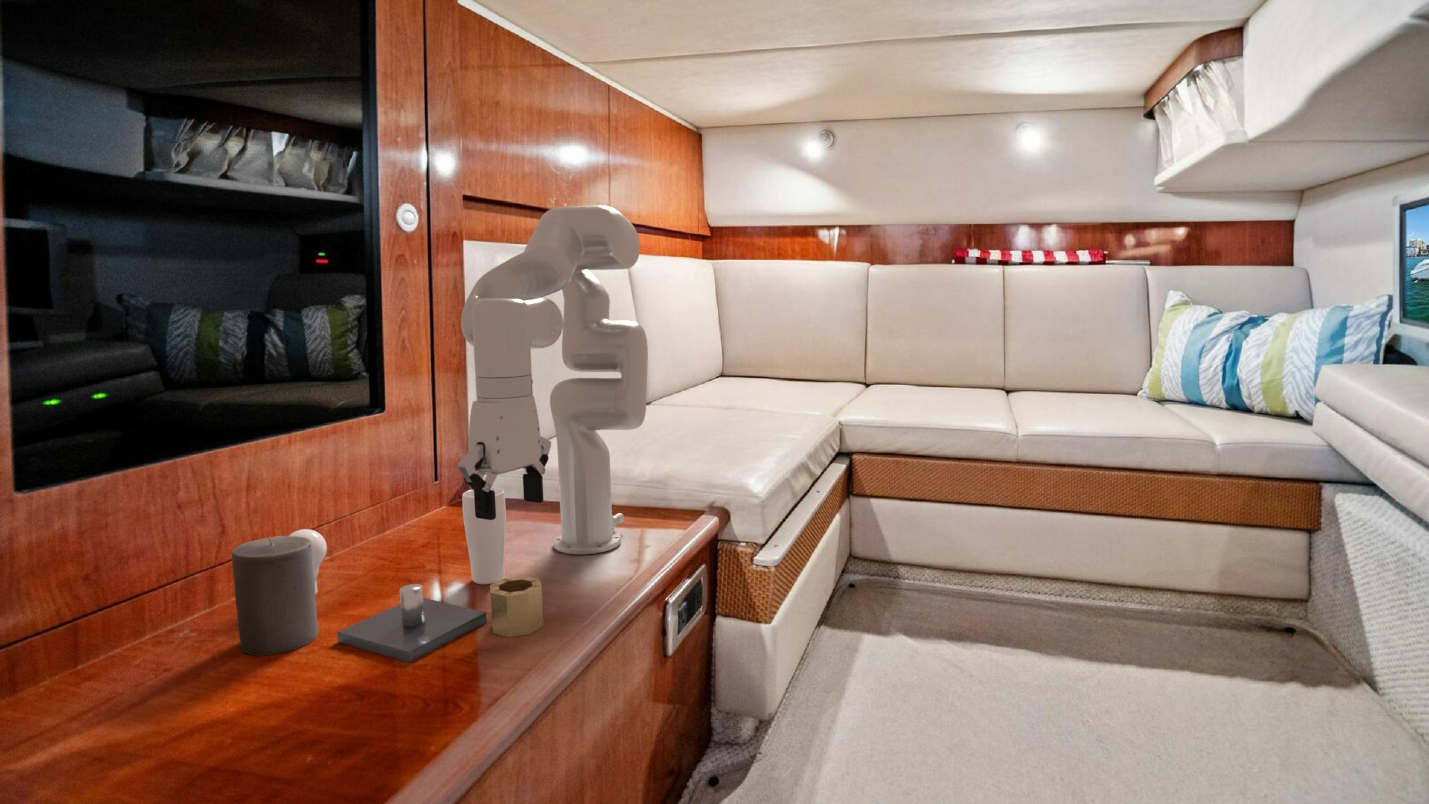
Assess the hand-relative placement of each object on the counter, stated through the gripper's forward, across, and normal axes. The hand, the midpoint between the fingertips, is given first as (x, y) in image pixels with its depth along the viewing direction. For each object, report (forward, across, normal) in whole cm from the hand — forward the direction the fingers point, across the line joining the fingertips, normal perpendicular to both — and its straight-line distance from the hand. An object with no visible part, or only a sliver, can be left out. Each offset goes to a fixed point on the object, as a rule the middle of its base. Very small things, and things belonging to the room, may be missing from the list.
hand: (510, 509), depth 111 cm
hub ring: (+17, 0, 0) cm, 17 cm away
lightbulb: (+17, +6, -38) cm, 42 cm away
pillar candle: (+18, +18, -27) cm, 37 cm away
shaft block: (+17, +8, -12) cm, 22 cm away
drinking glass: (+17, -12, -17) cm, 27 cm away
